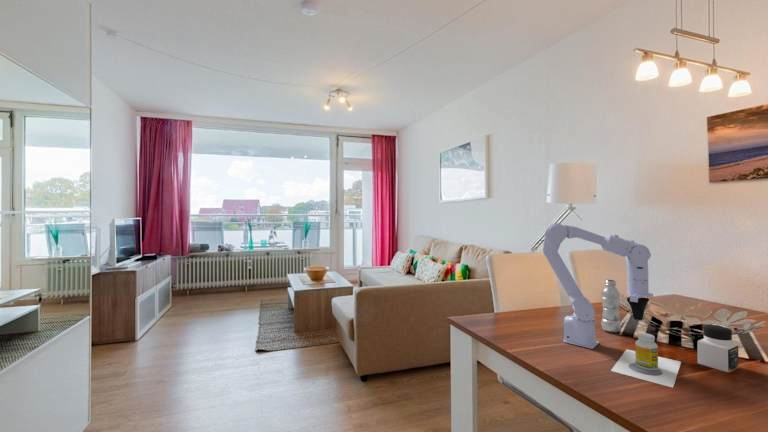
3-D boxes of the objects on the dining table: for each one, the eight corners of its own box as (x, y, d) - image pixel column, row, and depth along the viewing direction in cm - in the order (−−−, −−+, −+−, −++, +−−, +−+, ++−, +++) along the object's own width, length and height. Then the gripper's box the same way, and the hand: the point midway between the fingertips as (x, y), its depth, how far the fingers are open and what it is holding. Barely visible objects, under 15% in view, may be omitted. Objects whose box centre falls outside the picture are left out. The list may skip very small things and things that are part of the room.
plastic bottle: (603, 333, 130) (602, 281, 130) (599, 327, 136) (598, 278, 136) (623, 335, 128) (622, 282, 128) (618, 329, 134) (617, 279, 134)
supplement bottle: (639, 361, 105) (639, 330, 105) (660, 367, 101) (660, 335, 101) (632, 366, 102) (632, 334, 102) (654, 372, 97) (654, 339, 97)
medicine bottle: (729, 373, 97) (728, 331, 97) (697, 363, 103) (696, 324, 103) (739, 367, 100) (738, 327, 100) (707, 358, 106) (707, 321, 106)
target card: (610, 372, 99) (610, 370, 99) (626, 350, 114) (626, 349, 114) (673, 389, 89) (673, 387, 89) (681, 362, 104) (681, 361, 104)
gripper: (649, 284, 106) (649, 327, 106) (656, 277, 116) (656, 317, 116) (622, 281, 111) (622, 322, 111) (631, 275, 121) (631, 313, 121)
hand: (638, 319), depth 114 cm, fingers closed
